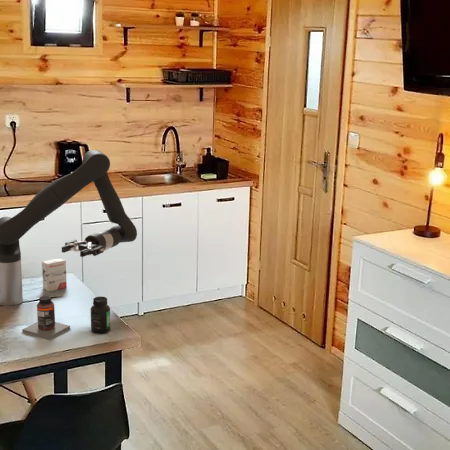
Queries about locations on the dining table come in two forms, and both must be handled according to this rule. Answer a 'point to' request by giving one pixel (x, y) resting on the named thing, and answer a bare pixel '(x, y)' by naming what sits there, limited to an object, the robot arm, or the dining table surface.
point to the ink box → (54, 274)
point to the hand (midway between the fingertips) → (71, 252)
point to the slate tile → (46, 334)
